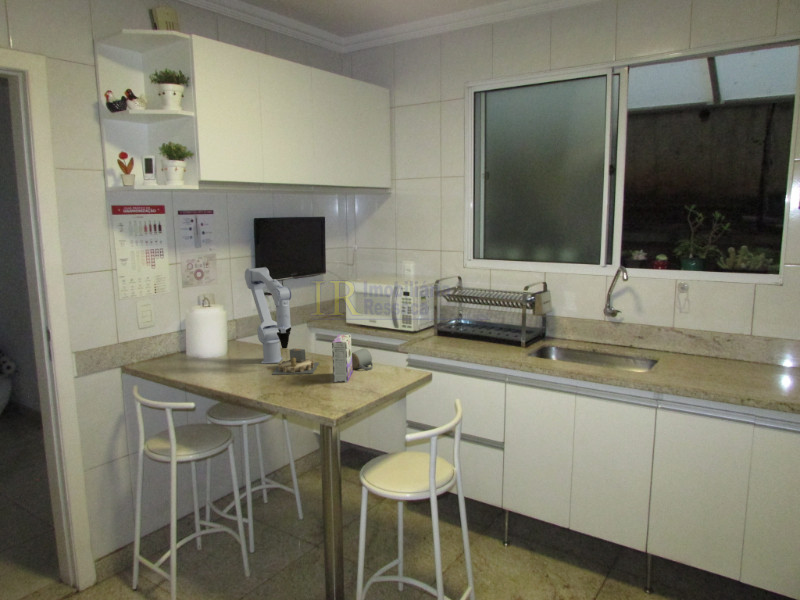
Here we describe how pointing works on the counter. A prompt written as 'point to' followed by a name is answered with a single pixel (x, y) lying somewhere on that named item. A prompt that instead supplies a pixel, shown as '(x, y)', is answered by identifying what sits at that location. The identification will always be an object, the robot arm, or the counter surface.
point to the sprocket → (295, 365)
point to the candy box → (342, 358)
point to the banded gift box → (298, 355)
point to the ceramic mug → (362, 359)
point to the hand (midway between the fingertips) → (285, 346)
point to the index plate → (296, 372)
